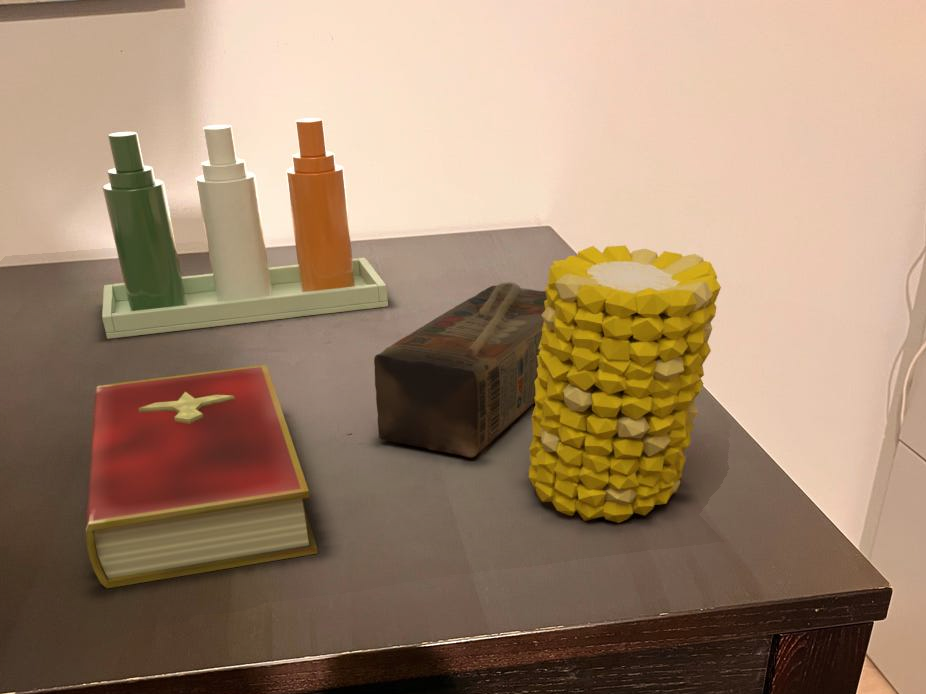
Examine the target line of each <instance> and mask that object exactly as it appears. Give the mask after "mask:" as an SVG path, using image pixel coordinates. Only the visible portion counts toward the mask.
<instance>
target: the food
mask: <svg viewBox="0 0 926 694" xmlns="http://www.w3.org/2000/svg"><path fill="white" fill-rule="evenodd" d="M721 289H722V286H721V284H720V283H719V282H718V275H717V273H716V270H715V269H714V267H713V265H712V263H711V261H707V260H704V257H703V256H700V255H698V254H696V253H691V254H688V255H684V256H683V254H682V253H677V252H671V251H667V250H664V251H663V252H662V253H661V254H660V255H659V256H658V252H656V251H653V250H651V249H648V248H642V249H641V248H640V249H636V250H632V251H630V250H629V249H628V247H627V245H613V246H612V245H610V246H606V247H604V250H603V251H602V252H601V251H600V250H599V249H598V248H597V247H595V246H594V245H592V246H589V247H587V248H584V249H581V250H579V251H578V252H577V255H569V256H568V257H566V259H561V260H560V259H558V260H555V261H552V265H551V266H550V267H549V272H548V280H547V285H546V286H545V287H544V291H546V296H547V300H546V301H544V304H545V311H544V312H543V314H542V317H543V319H544V323H543V327H542V338H541V341H540V344H539V347H538V348H539V350H540V352H539V355H538V356H537V361H538V368H537V373H538V377H537V379H536V380H535V381H534V382H535V393H536V396H535V397H534V399H535V402H534V404H535V406H534V407H533V408H534V409H533V411H532V414H531V424H532V426H531V427H532V440H531V442H530V446H529V448H528V451H529V452H530V453H529V456H528V457H529V460H530V465H529V467H528V478H529V480H530V483H531V484H532V486H533V488H535V492H536V495H537V496H538V498H539V499H540V500H541V503H542V502H551V503H552V504H553V506H554V507H555V509H556V511H558V512H560V513H562V514H565V515H568V516H571V517H572V516H574V514H575V513H576V512H577V513H578V514H579V516H580V517H581V519H582V520H583V521H584V522H585V521H586V522H587V521H590V520H595V519H599V518H603V517H604V519H605V520H607V521H611V522H614V523H617V524H620V523H622V522H624V521H626V520H629V518H631V516H632V515H634V514H638V515H641V516H646V515H648V514H649V513H650V512H651V511H652V510H653V509H654V508H655V505H656V506H657V505H665V504H667V503H668V501H670V498H671V496H672V495H674V494H675V493H678V489H679V487H680V485H681V480H680V479H681V478H682V477H683V473H682V471H683V468H684V465H685V463H686V460H687V458H686V456H685V454H684V453H685V450H686V449H688V447H689V446H690V445H691V443H692V442H691V441H692V440H691V431H692V430H693V429H694V427H695V425H694V422H693V421H694V419H695V418H696V417H697V416H698V414H699V412H698V409H697V406H696V403H695V399H696V398H697V396H698V395H699V394H700V393H701V391H702V390H703V389H702V388H703V387H704V381H703V380H702V377H704V376H705V373H704V366H703V365H704V363H705V361H706V360H707V358H708V357H709V355H710V354H711V352H712V350H711V346H710V345H709V340H710V336H711V334H712V331H713V326H712V323H711V322H712V321H713V319H714V318H715V317H716V313H717V305H716V302H717V298H718V296H719V293H720V292H721Z"/></svg>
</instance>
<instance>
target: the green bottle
mask: <svg viewBox="0 0 926 694" xmlns="http://www.w3.org/2000/svg"><path fill="white" fill-rule="evenodd" d="M107 137H108V142H109V147H110V150H111V156H112V159H113V165H114V168H111V169H108V170H107V177H108V180H109V181H108V182H109V183H106V184H104V185H102V192H103V196H104V200H105V204H106V209H107V213H108V218H109V223H110V226H111V231H112V236H113V240H114V245H115V248H116V253H117V257H118V262H119V266H120V272H121V276H122V279H123V283H124V284H125V289H126V293H127V298H128V302H129V306H130V311H138V310H147V309H156V308H165V307H174V306H183V305H187V300H186V295H185V290H184V284H183V279H182V277H183V275H182V269H181V264H180V259H179V253H178V250H177V244H176V238H175V234H174V229H173V223H172V217H171V213H170V208H169V204H168V203H169V202H168V197H167V192H166V187H165V183H164V181H163V180H161V179H156V178H155V173H154V168H153V167H152V166H149V165H144V161H143V155H142V151H141V145H140V140H139V135H138V133H137V132H136V131H121V132H120V131H119V132H113V133H110V134H108V136H107Z"/></svg>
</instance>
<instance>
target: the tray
mask: <svg viewBox="0 0 926 694" xmlns="http://www.w3.org/2000/svg"><path fill="white" fill-rule="evenodd" d="M352 260H353V270H354V280H355V286H354V287H345V288H336V289H327V290H318V291H309V292H302V291H301V283H300V275H299V268H298V264H291V265H281V266H271V267H268V268H269V275H270V282H271V289H272V296H264V297H255V298H246V299H237V300H228V301H219V302H218V301H217V296H216V290H215V285H214V279H213V273H204V274H198V275H197V274H195V275H186V276H182V279H183V284H184V290H185V295H186V300H187V305H183V306H174V307H165V308H156V309H147V310H138V311H130V306H129V302H128V298H127V293H126V289H125V284H124V282H120V283H112V284H111V283H110V284H104V285H103V292H102V293H103V294H102V310H101V319H102V324H103V327H104V331H105V336H106V339H107V340H113V339H118V338H119V339H120V338H129V337H137V336H145V335H154V334H155V335H156V334H163V333H171V332H172V333H173V332H180V331H188V330H197V329H205V328H206V329H207V328H214V327H215V328H216V327H222V326H233V325H240V324H248V323H250V324H251V323H258V322H265V321H274V320H275V321H276V320H285V319H291V318H300V317H301V318H302V317H308V316H317V315H326V314H334V313H336V314H337V313H342V312H343V313H345V312H353V311H361V310H369V309H370V310H371V309H379V308H387V307H389V301H388V288H387V287H388V286H387V284H386V283H385V282H384V280H383V279H382V278H381V276H380V275H379V274H378V272H377V271H376V270H375V269H374V267H373V266H372V264H370V262H369V261H368V259H366V258H365V257H358V258H352Z"/></svg>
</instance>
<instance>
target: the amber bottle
mask: <svg viewBox="0 0 926 694" xmlns="http://www.w3.org/2000/svg"><path fill="white" fill-rule="evenodd" d="M295 128H296V137H297V144H298V145H297V146H298V152H297V153H294V154H292V156H291V159H292V166H291V167H289V168H286V170H285V173H286V181H287V189H288V197H289V207H290V212H291V220H292V229H293V235H294V244H295V252H296V259H297V265H298V268H299V275H300V283H301V291H302V292H309V291H318V290H327V289H336V288H345V287H354V286H355V280H354V270H353V260H352V259H353V251H352V250H353V249H352V242H351V241H352V240H351V232H350V231H351V230H350V221H349V212H348V201H347V200H348V199H347V191H346V190H347V189H346V180H345V170H344V166H342V165H341V164H337V163H336V159H335V157H336V156H335V153H334V152H333V151H328V150H327V148H326V147H327V146H326V138H325V137H326V136H325V128H324V120H323V119H322V118H318V117H309V118H306V117H305V118H300V119H296V120H295Z"/></svg>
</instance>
